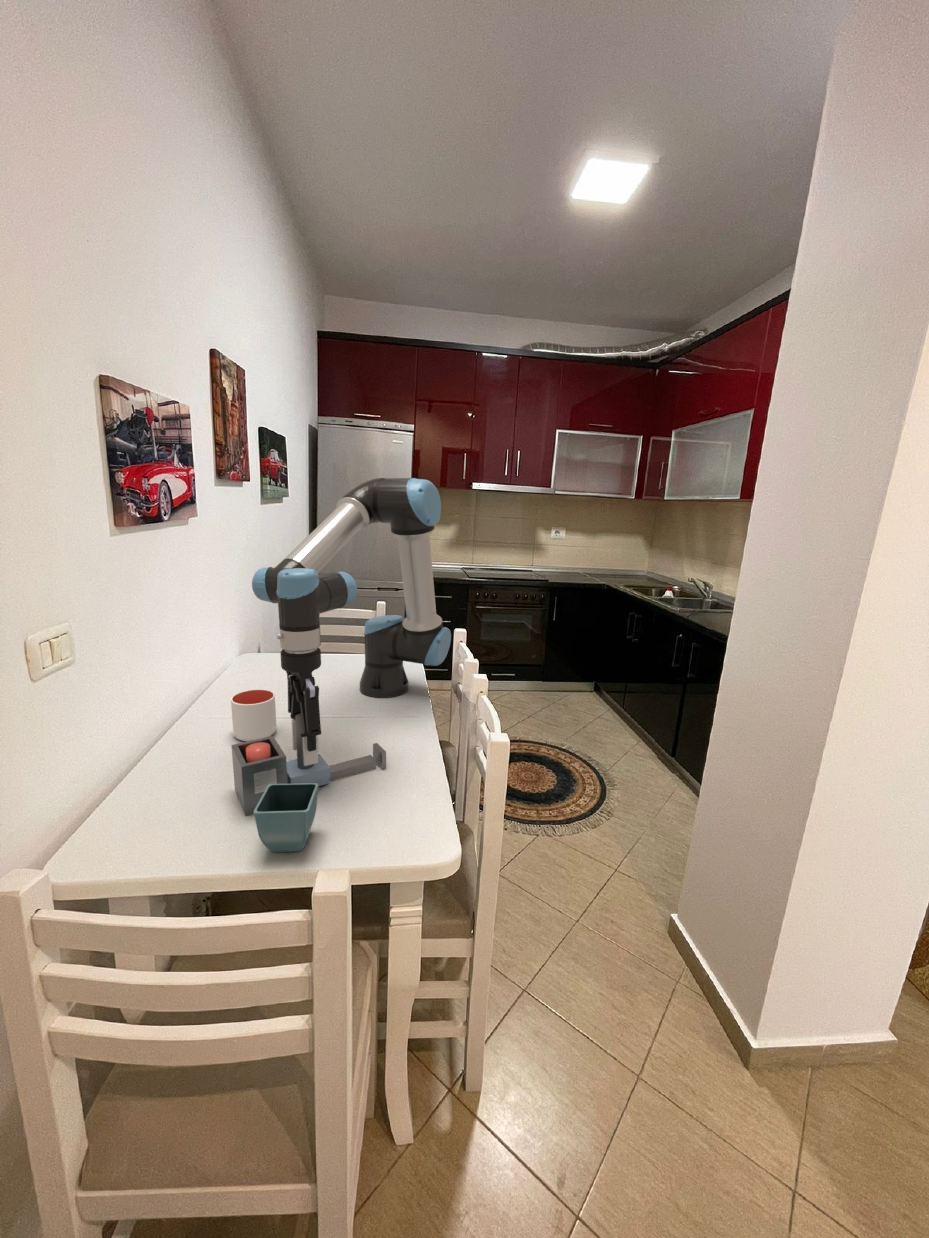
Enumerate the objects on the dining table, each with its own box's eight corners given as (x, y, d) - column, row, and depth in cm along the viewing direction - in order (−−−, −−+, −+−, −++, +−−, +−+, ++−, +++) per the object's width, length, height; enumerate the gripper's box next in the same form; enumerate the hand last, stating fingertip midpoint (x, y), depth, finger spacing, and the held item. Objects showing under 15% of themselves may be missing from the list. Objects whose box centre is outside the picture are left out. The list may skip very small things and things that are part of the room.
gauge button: (268, 763, 104) (267, 740, 103) (273, 772, 100) (272, 749, 99) (245, 768, 101) (243, 745, 100) (250, 778, 98) (248, 755, 97)
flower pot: (270, 827, 93) (268, 782, 91) (320, 826, 94) (318, 782, 92) (255, 860, 84) (252, 812, 82) (310, 859, 85) (308, 811, 83)
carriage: (319, 770, 112) (317, 706, 109) (330, 785, 106) (328, 718, 103) (282, 780, 108) (278, 713, 104) (291, 796, 102) (288, 726, 99)
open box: (275, 779, 108) (273, 735, 106) (288, 803, 100) (286, 756, 98) (234, 789, 104) (231, 744, 102) (245, 816, 96) (241, 767, 93)
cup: (262, 745, 123) (259, 706, 120) (224, 740, 125) (221, 702, 122) (284, 728, 132) (282, 691, 130) (249, 723, 134) (247, 687, 132)
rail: (377, 758, 118) (376, 742, 117) (386, 768, 114) (386, 751, 113) (278, 784, 106) (277, 767, 105) (285, 796, 102) (284, 778, 101)
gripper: (268, 638, 106) (274, 740, 111) (295, 665, 90) (300, 782, 96) (304, 634, 110) (308, 732, 116) (336, 659, 94) (339, 772, 100)
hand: (305, 755), depth 106 cm, fingers open, 7 cm apart
